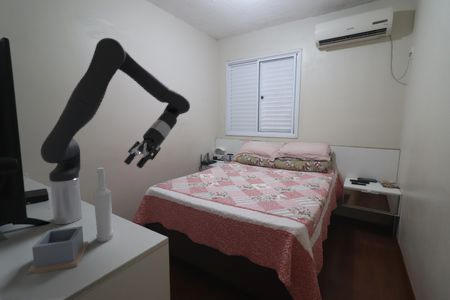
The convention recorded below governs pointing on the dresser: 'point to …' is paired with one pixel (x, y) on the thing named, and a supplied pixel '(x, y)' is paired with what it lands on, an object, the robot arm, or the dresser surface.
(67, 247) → the sleeve
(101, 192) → the bottle
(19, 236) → the dresser surface
